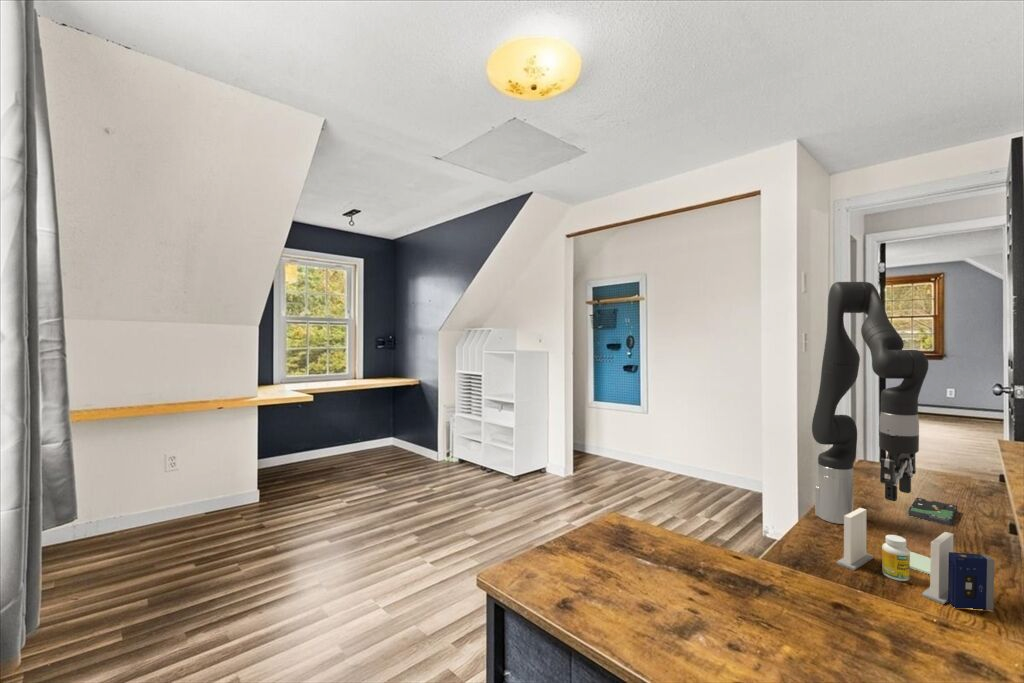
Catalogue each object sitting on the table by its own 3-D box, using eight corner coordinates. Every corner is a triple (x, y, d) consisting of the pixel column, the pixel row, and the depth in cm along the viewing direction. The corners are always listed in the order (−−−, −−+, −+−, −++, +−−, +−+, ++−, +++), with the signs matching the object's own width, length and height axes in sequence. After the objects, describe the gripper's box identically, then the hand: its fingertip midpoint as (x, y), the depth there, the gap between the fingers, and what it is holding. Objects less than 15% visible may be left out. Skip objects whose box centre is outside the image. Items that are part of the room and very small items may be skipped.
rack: (836, 563, 123) (836, 515, 122) (856, 551, 128) (856, 505, 128) (944, 605, 104) (945, 548, 104) (961, 588, 110) (962, 534, 110)
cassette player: (954, 609, 103) (955, 555, 102) (947, 602, 105) (948, 550, 105) (994, 612, 101) (995, 558, 101) (986, 606, 104) (987, 553, 103)
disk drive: (915, 505, 159) (908, 517, 149) (915, 497, 159) (908, 509, 149) (957, 514, 152) (952, 527, 142) (957, 505, 152) (952, 518, 142)
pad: (895, 563, 122) (895, 560, 122) (909, 553, 127) (909, 551, 127) (940, 578, 115) (940, 576, 115) (953, 567, 119) (953, 565, 119)
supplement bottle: (893, 568, 120) (893, 531, 119) (915, 579, 114) (916, 541, 114) (876, 571, 118) (876, 534, 118) (898, 583, 113) (898, 544, 113)
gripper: (891, 424, 122) (891, 485, 122) (867, 432, 114) (867, 498, 115) (929, 429, 115) (928, 494, 116) (906, 438, 108) (905, 507, 108)
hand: (898, 496), depth 115 cm, fingers open, 8 cm apart
